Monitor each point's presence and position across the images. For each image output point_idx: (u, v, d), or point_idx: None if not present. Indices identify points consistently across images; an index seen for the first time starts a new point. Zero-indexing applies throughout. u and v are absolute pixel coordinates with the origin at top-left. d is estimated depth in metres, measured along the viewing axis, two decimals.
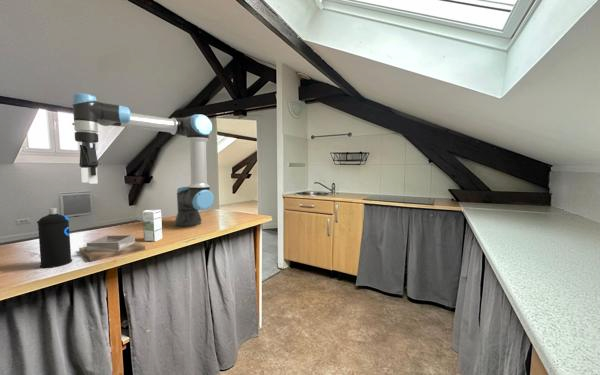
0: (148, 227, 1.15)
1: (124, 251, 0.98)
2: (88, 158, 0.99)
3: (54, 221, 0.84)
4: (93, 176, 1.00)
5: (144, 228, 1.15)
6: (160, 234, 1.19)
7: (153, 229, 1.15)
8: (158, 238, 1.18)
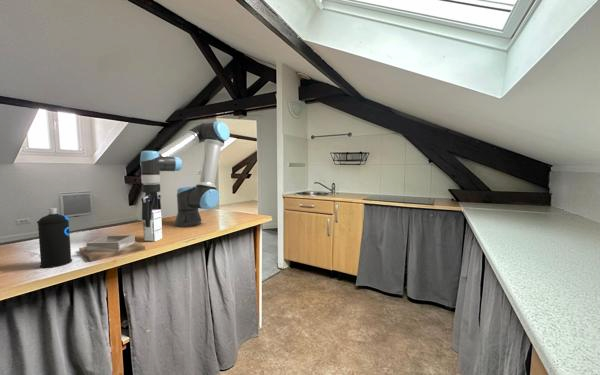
0: None
1: (124, 251, 0.98)
2: None
3: (54, 221, 0.84)
4: (148, 227, 1.14)
5: (144, 228, 1.15)
6: (160, 234, 1.19)
7: (153, 229, 1.15)
8: (158, 238, 1.18)
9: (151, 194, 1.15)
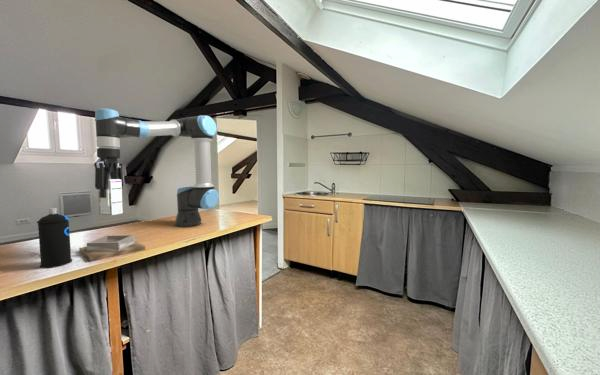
0: None
1: (124, 251, 0.98)
2: None
3: (54, 221, 0.84)
4: (104, 198, 0.97)
5: (100, 199, 0.99)
6: (120, 208, 1.03)
7: (110, 200, 0.98)
8: (117, 212, 1.01)
9: (108, 160, 0.98)
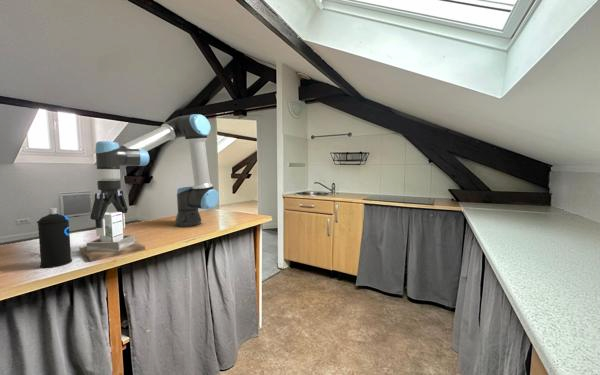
0: (105, 233, 0.99)
1: (124, 251, 0.98)
2: None
3: (54, 221, 0.84)
4: (100, 228, 0.95)
5: None
6: None
7: (111, 234, 0.99)
8: None
9: (109, 192, 0.99)
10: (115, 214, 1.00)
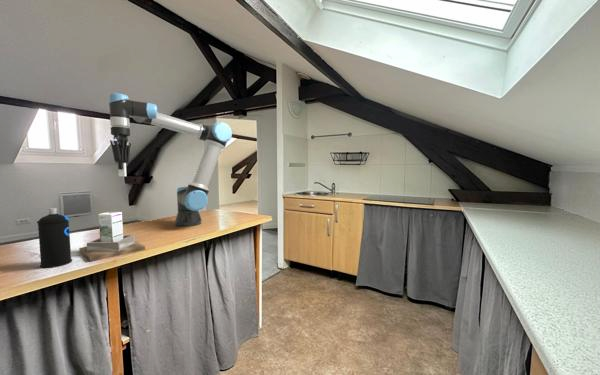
0: (105, 233, 0.99)
1: (124, 251, 0.98)
2: None
3: (54, 221, 0.84)
4: (121, 170, 1.19)
5: (101, 234, 0.99)
6: None
7: (111, 234, 0.99)
8: None
9: (119, 136, 1.16)
10: (115, 214, 1.00)
